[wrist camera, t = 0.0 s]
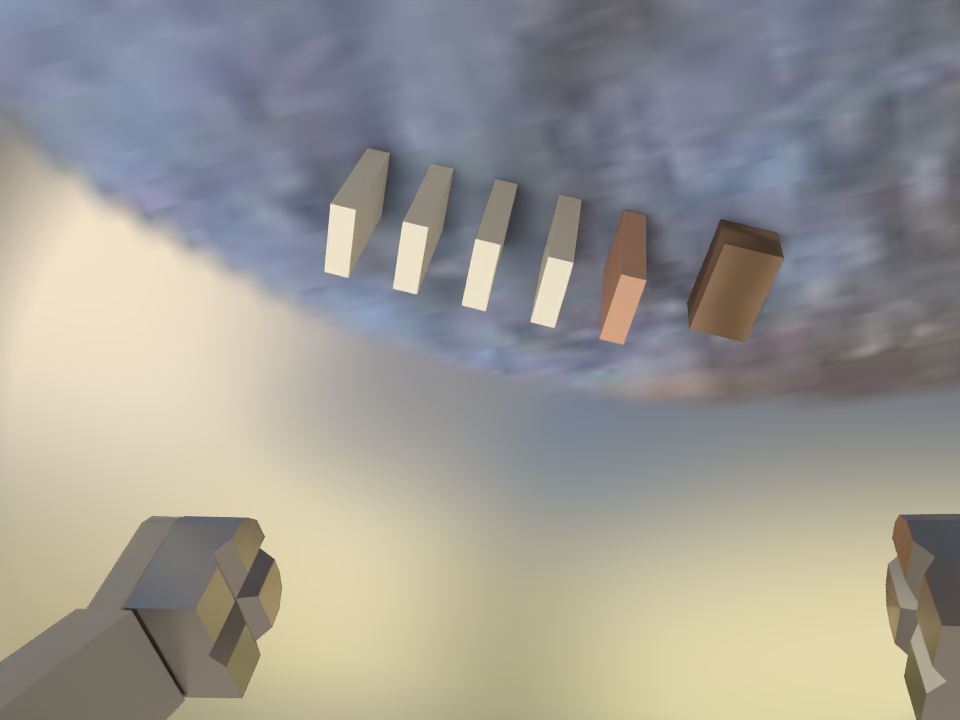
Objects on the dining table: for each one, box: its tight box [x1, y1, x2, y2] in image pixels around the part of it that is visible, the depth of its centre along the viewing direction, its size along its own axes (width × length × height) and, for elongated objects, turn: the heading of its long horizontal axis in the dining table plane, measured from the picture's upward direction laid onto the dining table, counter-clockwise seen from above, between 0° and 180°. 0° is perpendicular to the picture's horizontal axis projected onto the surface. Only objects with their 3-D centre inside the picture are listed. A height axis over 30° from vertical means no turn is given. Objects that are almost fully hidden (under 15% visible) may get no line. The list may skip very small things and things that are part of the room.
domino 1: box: [325, 148, 390, 277], centre depth 58 cm, size 2×5×9 cm, turn 170°
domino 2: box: [393, 163, 454, 294], centre depth 58 cm, size 2×5×9 cm, turn 169°
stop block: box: [687, 220, 784, 342], centre depth 60 cm, size 4×7×4 cm, turn 169°
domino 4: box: [531, 194, 582, 328], centre depth 58 cm, size 2×5×9 cm, turn 170°
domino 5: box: [599, 210, 647, 344], centre depth 58 cm, size 2×5×9 cm, turn 169°
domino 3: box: [462, 179, 518, 311], centre depth 58 cm, size 2×5×9 cm, turn 169°
